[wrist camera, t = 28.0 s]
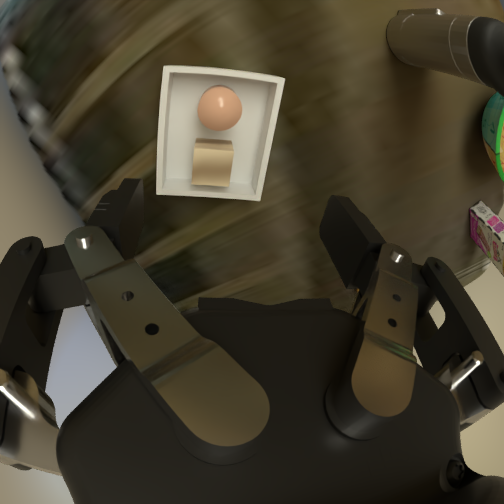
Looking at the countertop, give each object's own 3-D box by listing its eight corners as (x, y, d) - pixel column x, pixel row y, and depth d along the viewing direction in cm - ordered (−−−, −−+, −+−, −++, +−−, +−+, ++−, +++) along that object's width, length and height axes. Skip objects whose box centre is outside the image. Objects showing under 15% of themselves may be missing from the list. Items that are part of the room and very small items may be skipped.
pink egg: (202, 83, 32) (200, 87, 27) (239, 86, 33) (245, 91, 28) (198, 117, 35) (195, 129, 30) (234, 120, 36) (238, 132, 31)
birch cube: (195, 137, 37) (194, 148, 33) (231, 140, 38) (234, 151, 34) (193, 170, 40) (191, 184, 36) (226, 172, 41) (229, 186, 37)
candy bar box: (467, 208, 53) (510, 251, 40) (480, 199, 52) (522, 239, 39) (469, 238, 59) (504, 279, 47) (481, 228, 58) (516, 268, 45)
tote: (169, 65, 31) (163, 65, 27) (276, 76, 34) (285, 78, 30) (161, 179, 41) (156, 194, 37) (255, 185, 44) (260, 201, 40)
